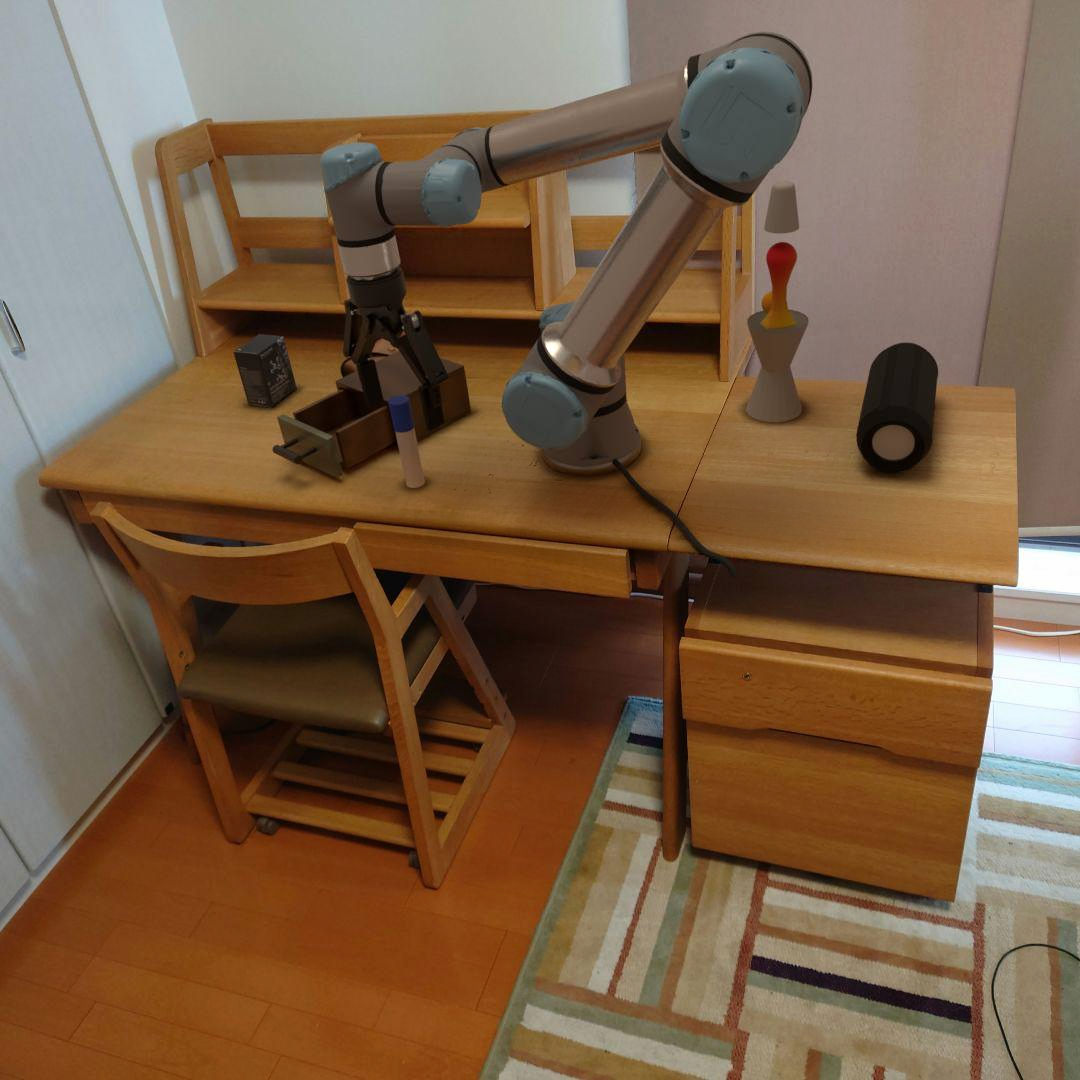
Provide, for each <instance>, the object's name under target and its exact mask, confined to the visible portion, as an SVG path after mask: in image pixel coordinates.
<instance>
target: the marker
mask: <svg viewBox="0 0 1080 1080" xmlns="http://www.w3.org/2000/svg"><path fill="white" fill-rule="evenodd" d="M388 403H389V408H390V412H391V417H392V422H393V427H394V430H395V433H396V437H397V442H398V447H399V450H398V451H399V452H398V453H399V456H400V460H401V465H402V470H403V471H402V472H403V475H404V480H405V484H406V486H407V488H410V489H418V488H420V487H422V486H424V485H425V483H426V480H425V475H424V469H423V466H422V461H421V456H420V455H421V454H420V450H419V445H418V442H417V439H416V434H415V429H414V420H413V415H412V410H411V405H410V400H409V397H407V396H404V395H400V396H395V397H392V398H391V399H390V400H389V401H388Z"/></svg>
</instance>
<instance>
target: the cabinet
mask: <svg viewBox="0 0 1080 1080" xmlns="http://www.w3.org/2000/svg"><path fill="white" fill-rule="evenodd" d="M440 359H441V361H442V363H443V365H444V367H445V370H446V372H447V374H448V376H449V379H448V380H447V381H445V382H443V383H441V384H439V388H440V393H441V398H442V405H441V406H442V412H443V417H444V422H445V423H444V424H442V425H440V426H438V427H436V428H435V429H433V430H431V431H429V430H427V428H426V423H425V418H424V413H423V408H422V403H421V398H420V393H419V388H418V387H419V386H421V385H422V384H421V383H420V381H419V380H418V378H417V377H416V375H415V374H414V372H413V371H412V369H411V368H410V366H409V365H408V363H407V362H406V360H405V359H404V357H403V356H402V354H401V353H400V351H398V352H395V353H393V354H391V355H389V356H387V357H385V358H383V359H381V360H379V361H377V362H375V364H376V368H377V373H378V377H379V382H380V386H381V390H382V395H383V399H384V401H382V402H380V403H383V404H385V405H388V406H389V403H388V401H389V400H390V399H391V398H392V397H395V396H400V395H404V396H407V397H409V400H410V405H411V410H412V415H413V420H414V429H415V434H416V439H417V443H419V442H420V441H422V440H424V439H426V438H427V437H429V436H431V435H433V434H434V433H436V432H438V431H441V430H442V429H444V428H445V427H447V426H449V425H451V424H452V423H454V422H457V421H458V420H460V419H462V418H463V417H466V416H468V414H471V413H472V407H471V402H470V396H469V395H470V394H469V388H468V383H467V376H466V370H465V365H463V364H460V363H457V362H454V361H451V360H448V359H445V358H441V357H440ZM438 374H439V373H438ZM426 378H427V376H426ZM334 382H335V385H336V391H339V390H341V389H343V388H344V389H347V390H349V391H352V392H355V393H357V394H360V395H362V396H364V394H363V390H362V385H361V382H360V380H359V375H358V372H357V371H356V372H354V373H351V374H349V375H347V376H345V377H341V378H339V379H337V380H335V381H334ZM395 435H396V433H395ZM396 440H397V437H396ZM388 447H391V448H394V449H395V450H398V451H399V447H398V442H397V441H396V442H394V443H393V444H391V445H389V446H388Z"/></svg>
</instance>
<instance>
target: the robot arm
mask: <svg viewBox="0 0 1080 1080" xmlns="http://www.w3.org/2000/svg"><path fill="white" fill-rule="evenodd" d="M812 95H813V72H812V68H811V66H810V62H809V60H808V58H807V57H806V55H805V53H804V51H803V50H802V49H801V48H800V46H799V45H797V44H796V43H795V42H794V41H793V40H792V39H790V38H788V37H787V36H784V35H783V34H780V33H776V32H773V31H772V32H771V31H758V32H756V31H755V32H751V33H747V34H744V35H743V36H740V37H738V38H736V39H733V40H731V41H730V42H727V43H726V44H723V45H721V46H718V47H716V48H713V49H711V50H708V51H704V52H702V53H699V54H695V55H691V56H689V57H687V58H686V59H685V61H684V62H683V64H682V66H681V68H680V69H679V70H675V71H672V72H669V73H665V74H662V75H657V76H655V77H652V78H649V79H646V80H641V81H638V82H635V83H631V84H629V85H624V86H622V87H619V88H615V89H611V90H608V91H604V92H602V93H599V94H598V93H597V94H595V95H591V96H587V97H584V98H581V99H578V100H575V101H570V102H568V103H565V104H561V105H559V106H558V105H557V106H554V107H550V108H547V109H544V110H540V111H537V112H534V113H531V114H527V115H524V116H521V117H518V118H517V117H516V118H514V119H511V120H506V121H504V122H501V123H498V124H493V125H492V126H487V127H478V126H477V127H472V128H469V129H466V130H463V131H460V132H459V133H456V134H455V136H454V137H452V138H451V139H450V140H449V141H447V142H445V143H444V144H442V145H441V146H440V147H438V148H437V149H435V150H433V151H432V152H431V153H429V154H427V155H426V156H424V157H423V158H421V159H418V160H409V161H406V160H405V161H383V159H382V155H381V153H380V149H379V147H378V146H377V145H376V144H374V143H372V142H366V141H365V142H364V141H363V142H352V143H345V144H341V145H336V146H334V147H331V148H329V149H327V150H326V151H324V152H323V153H322V155H321V157H320V161H319V163H320V169H321V175H322V180H323V187H324V188H323V191H324V193H325V196H326V199H327V203H328V207H329V210H330V214H331V218H332V223H333V226H334V227H333V228H334V230H335V234H336V240H337V248H338V251H339V256H340V260H341V265H342V270H343V272H344V274H345V275H347V276H346V279H345V281H346V285H347V289H348V294H349V299H346V300H344V302H343V305H344V310H345V322H344V324H345V325H344V336H343V346H342V347H343V348H342V354H343V357H345V358H346V359H347V358H349V357H350V358H352V362H353V363H354V364H356V367H357V372H358V375H359V380H360V382H361V385H362V390H363V394H364V398H365V402H366V406H367V407H369V408H370V407H372V406H374V405H376V404H378V403H380V402H382V401H384V399H383V395H382V390H381V386H380V382H379V377H378V373H377V368H376V364H375V360H373V359H370V360H368V358H370V357H373V356H374V355H372V351H373V348H374V346H375V344H376V342H377V341H378V340H379V339H382V338H383V339H384V340H386V341H389V342H390V343H391V345H392V346H393V347H395V348H398V350H399V351H400V353H401V354H402V356H403V357H404V359H405V360H406V362H407V363H408V365H409V366H410V368H411V369H412V371H413V372H414V374H415V375H416V377H417V378H418V380H419V381H420V383H421V384H422V385H421V386H419V387H418V388H419V393H420V398H421V403H422V408H423V413H424V418H425V423H426V428H427V430H429V431H431V430H433V429H435V428H436V427H438V426H440V425H442V424H444V423H445V422H444V417H443V412H442V406H441V405H442V398H441V393H440V388H439V384H441V383H443V382H445V381H447V380H448V379H449V376H448V374H447V372H446V370H445V367H444V365H443V363H442V361H441V359H440V358H441V357H440V355H439V353H438V351H437V349H436V347H435V345H434V343H433V340H432V339H431V337H430V335H429V332H428V331H427V329H426V325H425V323H424V319H423V315H422V313H421V311H420V310H415V311H413V312H407V310H405V307H404V304H403V301H404V299H405V296H406V295H407V292H408V291H407V285H406V280H405V274H404V269H403V268H402V267H401V266H400V265H401V257H400V252H399V247H398V242H397V238H396V230H395V227H408V226H409V227H436V226H437V227H442V228H443V227H445V228H449V227H452V226H460V225H467V224H470V223H473V221H474V220H476V218H477V217H478V214H479V210H480V208H481V205H482V194H483V193H487V192H491V191H494V190H498V189H501V188H504V187H508V186H511V185H514V184H518V183H521V182H527V181H530V180H534V179H537V178H542V177H545V176H549V175H552V174H557V173H560V172H564V171H568V170H572V169H577V168H579V167H580V168H581V167H584V166H588V165H592V164H595V163H598V162H603V161H606V160H611V159H615V158H619V157H622V156H627V155H629V154H633V153H637V152H641V151H645V150H648V149H652V148H656V147H659V149H660V154H661V159H662V164H661V166H660V168H658V171H657V172H656V173H655V175H654V176H653V178H652V180H651V181H650V183H649V185H647V188H646V189H645V191H644V192H643V195H641V197H640V199H639V200H638V202H637V204H636V205H635V207H634V209H633V210H632V212H630V213H631V214H630V215H629V216H628V218H627V220H626V221H625V223H624V224H623V226H622V227H621V229H620V230H619V232H618V233H617V235H616V237H615V239H614V240H613V241H612V243H611V245H610V246H609V248H608V250H606V253H605V254H604V256H603V257H602V259H601V261H600V262H599V264H598V265H597V267H596V269H595V270H594V272H593V274H592V275H591V276H590V278H589V280H588V281H587V283H586V285H585V286H584V288H583V289H582V291H581V292H580V294H579V296H577V299H576V300H575V301H569V302H562V303H558V304H554V305H551V306H549V307H547V308H545V309H544V310H542V311H541V313H540V315H539V325H538V328H539V329H540V333H541V334H540V335H539V337H538V338H537V340H536V341H535V343H534V344H533V346H532V348H531V349H530V351H529V352H528V354H527V356H526V358H525V359H524V361H523V363H522V364H521V366H519V368H518V370H517V371H516V373H515V374H514V375H513V376H511V377H510V378H509V379H508V381H507V382H506V385H505V388H504V390H503V393H502V397H501V411H502V414H503V416H504V418H505V422H506V424H507V426H508V427H509V428H510V430H511V431H512V432H513V433H514V434H515V435H516V436H517V437H518V438H519V439H521V440H522V441H523V442H524V443H526V444H528V445H530V446H532V447H534V448H536V449H541V457H542V460H543V461H544V463H545V464H546V465H547V466H549V468H551V469H553V470H555V471H557V472H560V473H564V474H567V475H572V476H598V475H604V474H609V473H612V472H615V471H619V472H620V474H621V475H622V476H623V477H624V478H625V480H626V481H627V482H628V484H630V486H631V487H632V488H633V489H634V490H635V491H636V492H637V493H638V494H640V495H641V496H642V497H643V498H644V499H646V500H647V501H648V502H650V503H651V504H652V505H654V506H655V507H656V508H658V509H659V510H660V511H661V512H663V513H664V514H665V515H666V516H668V517H669V519H671V521H672V522H673V523H674V524H675V525H676V526H677V528H679V530H680V532H682V534H683V535H684V536H685V538H686V539H687V541H689V543H690V544H691V545H692V546H693V547H694V548H695V549H696V550H697V551H698V552H699V553H700V554H702V555H703V556H705V557H706V558H709V559H711V560H713V561H716V562H719V563H721V564H722V565H723V566H725V568H726V569H727V570H728V572H729V574H730V576H731V577H732V578H733V579H739V578H740V577H741V576H740V573H739V571H738V569H737V568H736V566H735V565H734V563H732V561H731V560H729V559H728V558H727V557H726V556H724V555H722V554H720V553H717V552H714V551H711V550H710V549H708V548H706V546H705V545H703V544H702V543H701V542H700V541H699V540H698V539H697V538H696V537H695V536H694V534H693V533H692V532H691V530H690V529H689V527H687V525H686V524H685V523H684V521H683V520H682V519H681V518H680V517H679V516H678V515H677V514H676V513H675V512H674V511H673V510H672V509H671V508H669V507H668V506H667V505H665V503H663V502H662V501H660V500H659V499H658V498H656V497H654V496H653V495H652V494H651V493H649V491H647V490H646V489H645V488H643V486H642V485H640V484H639V483H638V482H637V480H636V479H635V478H634V477H633V475H632V474H631V473H630V472H629V471H628V470H627V468H626V467H627V466H629V465H630V464H632V463H633V462H634V461H636V459H638V457H639V455H640V454H641V452H642V436H641V433H640V430H639V428H638V426H637V425H636V424H635V420H634V417H633V414H632V411H631V409H630V406H629V404H628V399H627V397H628V396H627V377H626V359H625V352H626V351H627V349H628V348H629V346H631V343H632V342H633V341H634V339H635V338H636V337H637V335H638V334H639V332H640V331H641V329H642V328H643V327H644V326H645V324H646V322H647V321H648V319H649V318H650V317H651V315H652V314H653V313H654V311H655V310H656V308H657V307H658V306H659V304H660V302H661V301H662V300H663V298H664V297H665V295H666V294H667V293H668V291H669V290H670V288H671V287H672V285H673V284H674V283H675V281H676V280H677V278H678V277H679V275H680V274H681V273H682V271H683V270H684V268H685V267H686V266H687V264H689V261H690V260H691V259H692V258H693V256H694V255H695V253H696V252H697V250H698V248H699V247H700V246H701V244H702V243H703V241H705V239H706V237H707V236H708V235H709V234H710V231H711V230H712V229H713V227H714V225H715V224H716V223H717V222H718V220H719V219H720V218H721V216H722V214H723V213H724V212H725V210H727V209H728V208H733V207H740V206H744V205H746V204H747V203H748V202H749V201H750V199H751V197H752V196H753V195H754V193H755V192H756V191H757V189H758V188H759V187H760V185H761V184H762V182H763V181H764V180H765V178H766V177H767V176H768V174H769V173H770V171H771V170H773V169H774V168H775V166H776V165H778V164H780V162H781V161H782V160H783V159H784V158H785V157H786V156H787V154H788V153H789V151H790V150H791V149H792V147H793V145H794V144H795V141H796V140H797V138H798V134H799V132H800V129H801V126H802V121H803V119H804V117H805V116H806V113H807V111H808V108H809V106H810V104H811V103H810V102H811V99H812ZM403 331H404V332H405V335H403V336H401V335H402V333H403ZM400 336H401V337H400ZM398 337H399V338H398ZM438 373H439V374H438ZM426 376H427V378H426Z"/></svg>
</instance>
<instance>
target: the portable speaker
mask: <svg viewBox="0 0 1080 1080" xmlns="http://www.w3.org/2000/svg"><path fill="white" fill-rule="evenodd" d="M867 377H868V378H867V381H866V387H865V391H864V394H863V395H864V396H863V399H862V406H861V410H860V415H859V419H858V424H857V429H856V435H855V436H856V445H857V448H858V451H859V453H860V454H861V455H862V457H863V458H864V460H865V461H866V463H868V465H869V466H870V467H872V468H874V470H878V471H879V472H883V473H888V474H898V473H903V472H907V471H909V470H912V469H913V468H914V467H916V465H918V464H919V463H921V462H922V461H923V460H924V459H925V458H926V456H927V455H928V454H929V452H930V451H931V448H932V445H933V433H934V422H935V410H936V405H937V404H936V403H937V387H938V378H939V367H938V363H937V360H936V359H935V357H934V356H933V354H931V353H930V351H928V350H927V349H926V348H924V347H923V346H921V345H919V344H917V343H914V342H908V341H907V342H899V343H895V344H893V345H891V346H888V347H887V348H885V349H883V350H882V351H881V352H879V353H878V355H877V356H876V357H874V359H873V361H872V363H871V364H870V368H869V372H868V376H867Z"/></svg>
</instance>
